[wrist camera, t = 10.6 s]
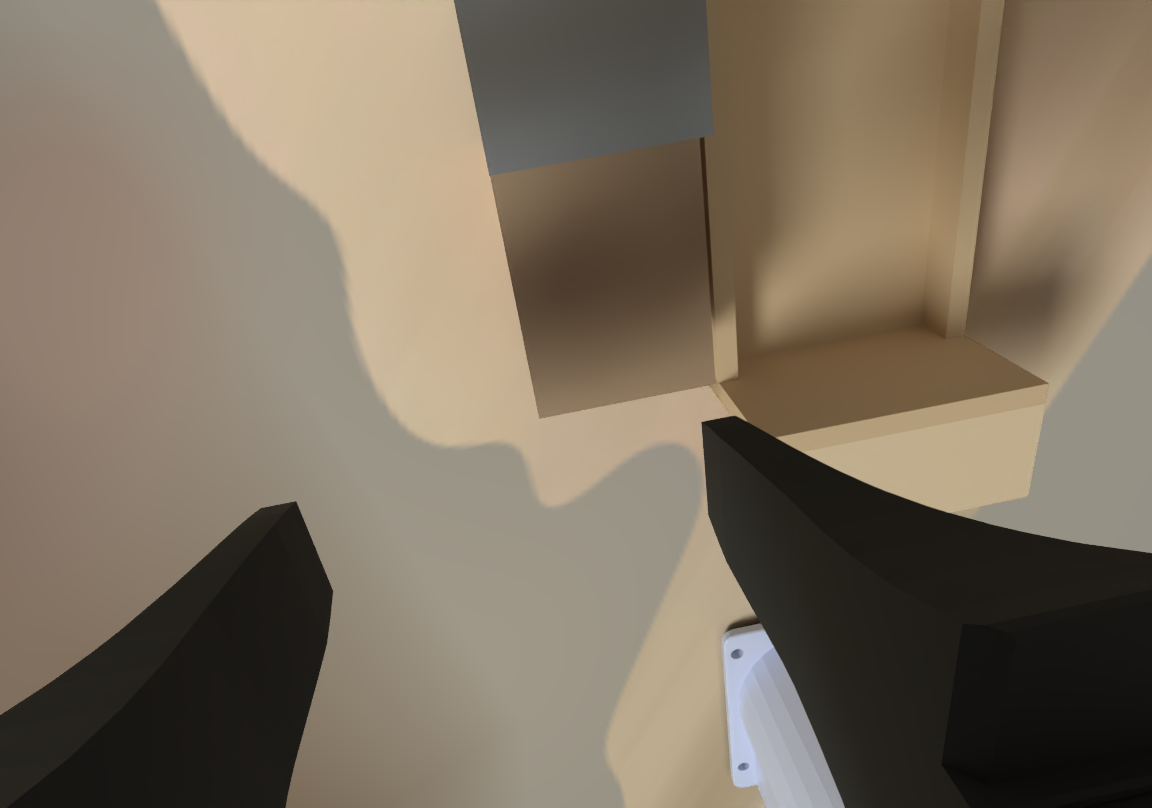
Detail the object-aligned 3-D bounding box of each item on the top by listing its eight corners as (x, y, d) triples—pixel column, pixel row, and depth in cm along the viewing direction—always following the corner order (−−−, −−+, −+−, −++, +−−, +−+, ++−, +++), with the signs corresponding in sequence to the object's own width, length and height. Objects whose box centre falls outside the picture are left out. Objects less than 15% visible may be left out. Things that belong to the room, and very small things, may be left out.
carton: (926, 415, 24) (1027, 496, 20) (710, 458, 24) (764, 550, 19) (1006, -407, 15) (1234, -608, 10) (655, -357, 14) (733, -542, 10)
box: (670, 323, 21) (728, 401, 16) (527, 350, 21) (542, 438, 16) (634, -61, 17) (699, -111, 12) (451, -31, 16) (440, -68, 12)
